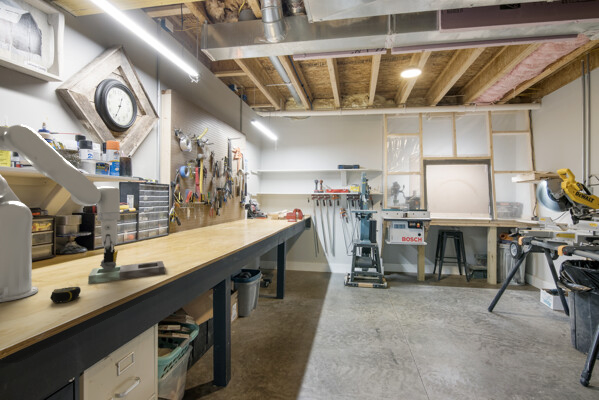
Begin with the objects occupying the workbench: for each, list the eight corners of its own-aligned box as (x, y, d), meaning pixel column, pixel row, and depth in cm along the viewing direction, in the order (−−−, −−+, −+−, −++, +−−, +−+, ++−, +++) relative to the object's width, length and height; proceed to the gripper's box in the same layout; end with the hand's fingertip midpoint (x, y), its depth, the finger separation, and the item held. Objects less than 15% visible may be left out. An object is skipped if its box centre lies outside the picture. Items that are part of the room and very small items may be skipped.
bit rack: (162, 267, 124) (162, 260, 124) (164, 273, 114) (164, 266, 114) (92, 275, 111) (92, 268, 111) (88, 283, 100) (88, 275, 100)
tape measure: (81, 295, 89) (81, 284, 89) (77, 302, 83) (77, 290, 83) (54, 299, 85) (54, 287, 85) (47, 306, 80) (47, 294, 80)
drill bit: (96, 271, 106) (110, 251, 114) (110, 275, 108) (123, 255, 115) (97, 265, 103) (111, 245, 110) (111, 270, 105) (125, 249, 112)
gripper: (118, 217, 103) (119, 263, 103) (120, 215, 118) (121, 255, 118) (94, 218, 99) (95, 266, 99) (99, 216, 114) (100, 257, 114)
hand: (109, 260), depth 109 cm, fingers closed on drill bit, 5 cm apart
